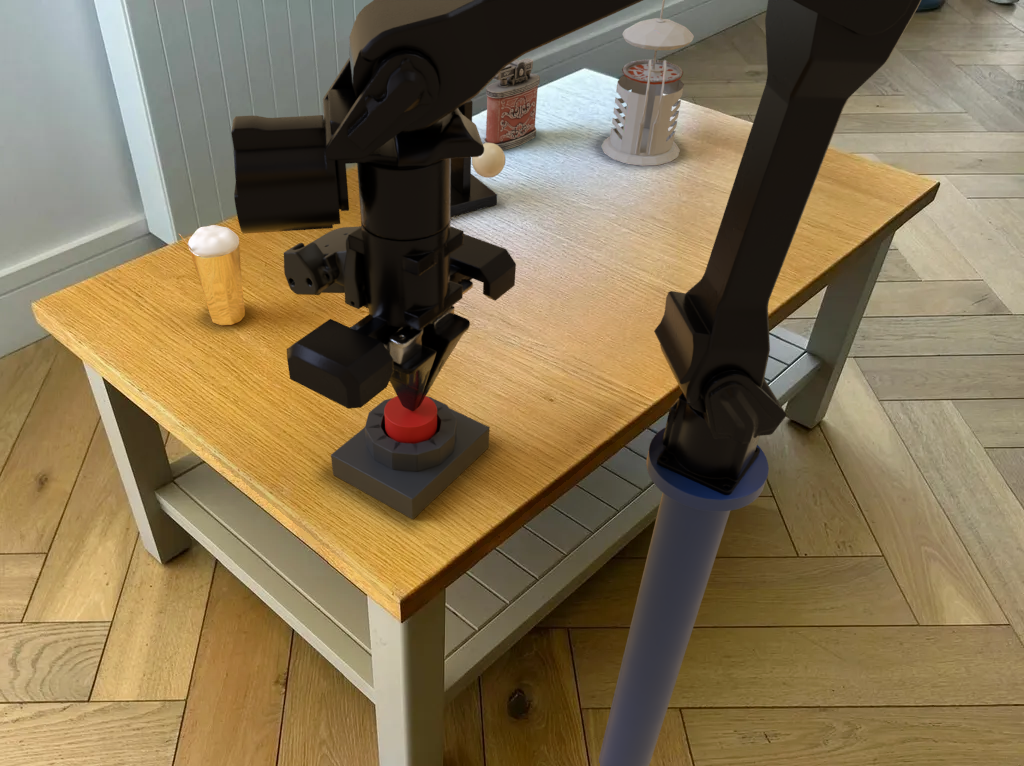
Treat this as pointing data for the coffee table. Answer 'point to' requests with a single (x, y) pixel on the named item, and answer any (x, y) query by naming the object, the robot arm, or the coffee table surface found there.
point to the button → (410, 421)
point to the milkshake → (219, 272)
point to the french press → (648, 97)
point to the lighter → (512, 105)
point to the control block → (409, 459)
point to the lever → (489, 161)
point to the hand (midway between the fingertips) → (411, 406)
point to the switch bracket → (467, 182)
